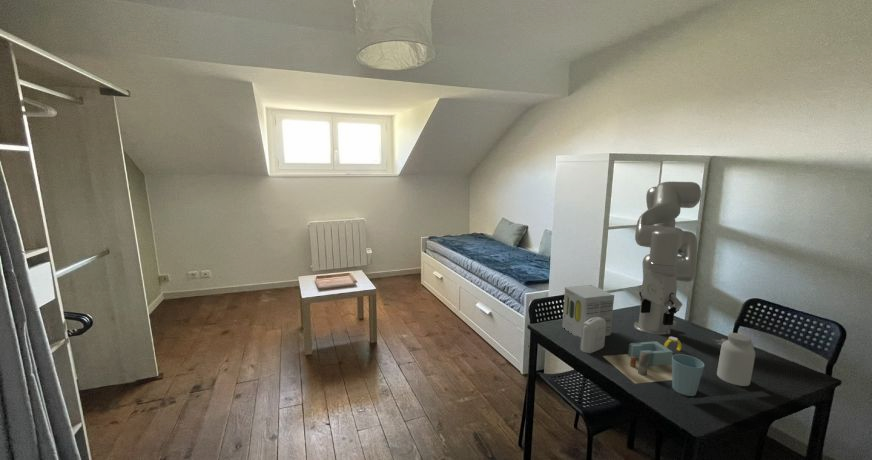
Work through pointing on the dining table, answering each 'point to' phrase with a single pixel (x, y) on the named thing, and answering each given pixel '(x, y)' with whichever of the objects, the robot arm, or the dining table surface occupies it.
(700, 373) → the cup
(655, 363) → the u-shaped channel block
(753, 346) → the power adapter
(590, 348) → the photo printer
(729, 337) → the pill bottle
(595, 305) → the supplement box
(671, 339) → the watch
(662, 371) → the board
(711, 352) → the dining table surface
